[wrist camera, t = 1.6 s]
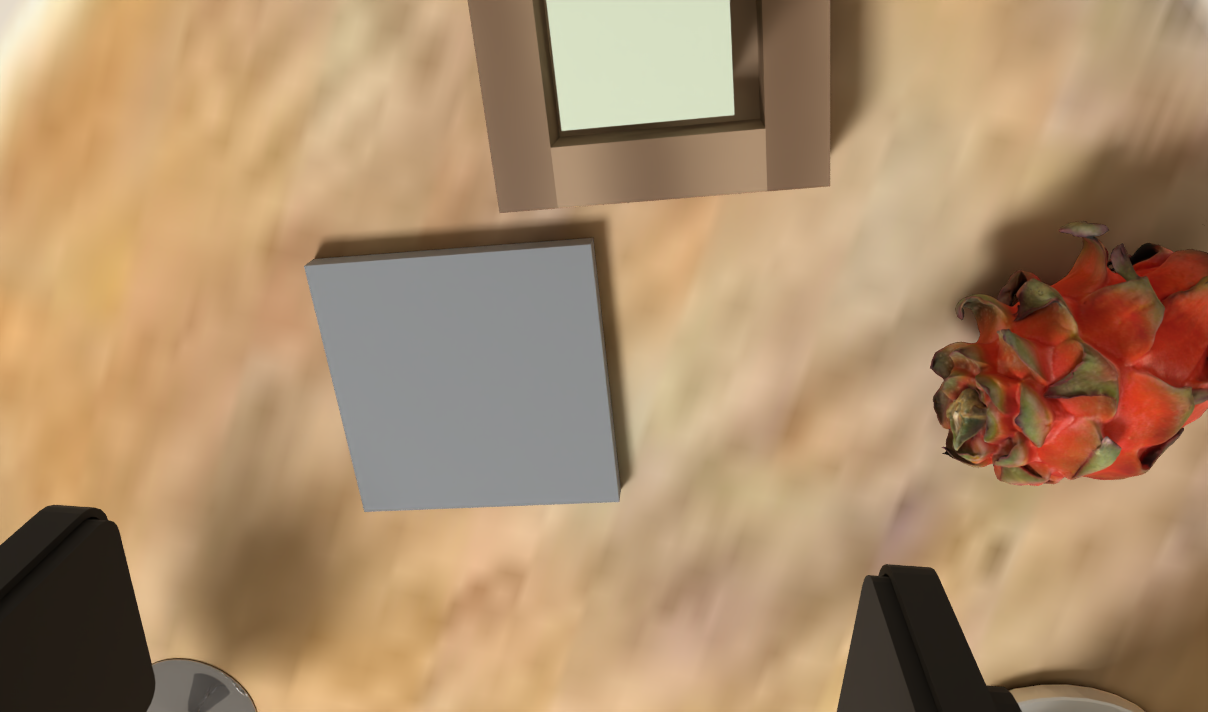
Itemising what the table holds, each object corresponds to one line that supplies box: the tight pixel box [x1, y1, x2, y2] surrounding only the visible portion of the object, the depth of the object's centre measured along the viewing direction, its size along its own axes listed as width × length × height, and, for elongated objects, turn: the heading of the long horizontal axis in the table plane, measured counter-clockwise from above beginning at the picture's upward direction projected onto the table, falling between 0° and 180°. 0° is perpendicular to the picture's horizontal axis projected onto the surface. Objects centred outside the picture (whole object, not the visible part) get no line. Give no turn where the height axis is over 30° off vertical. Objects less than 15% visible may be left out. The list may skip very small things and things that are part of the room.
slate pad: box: [304, 238, 621, 512], centre depth 38 cm, size 12×12×1 cm
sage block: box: [546, 0, 734, 131], centre depth 27 cm, size 5×5×8 cm
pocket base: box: [468, 0, 830, 213], centre depth 30 cm, size 12×12×3 cm
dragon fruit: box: [930, 221, 1208, 486], centre depth 32 cm, size 8×8×12 cm
